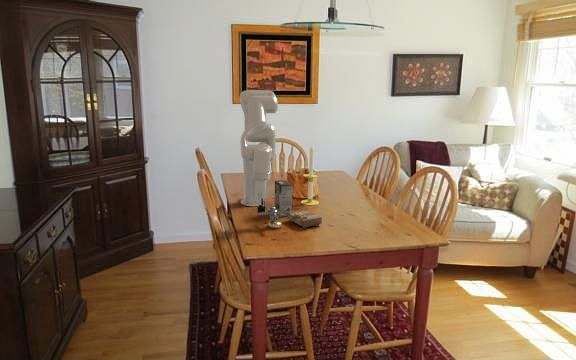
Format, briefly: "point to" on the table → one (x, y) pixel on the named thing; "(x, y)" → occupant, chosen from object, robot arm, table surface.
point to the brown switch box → (304, 218)
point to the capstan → (273, 216)
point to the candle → (310, 181)
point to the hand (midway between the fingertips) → (261, 214)
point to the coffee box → (283, 196)
